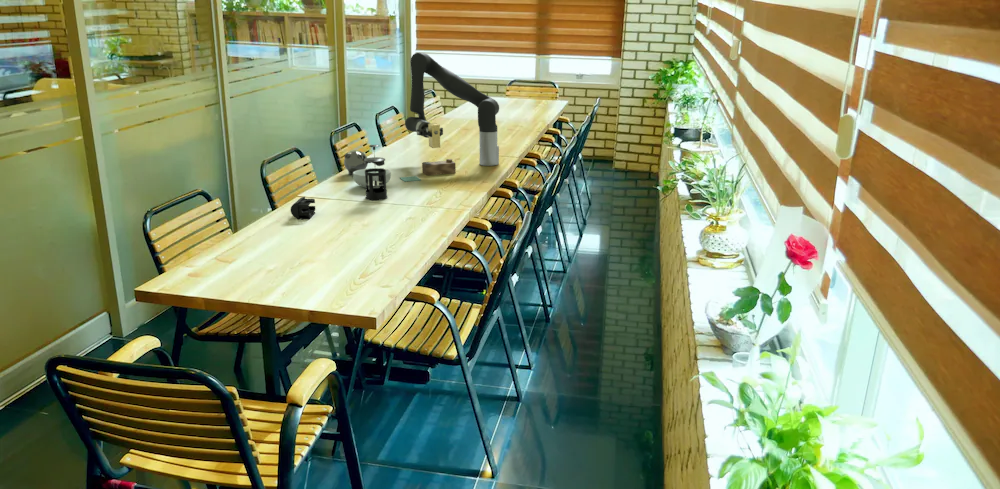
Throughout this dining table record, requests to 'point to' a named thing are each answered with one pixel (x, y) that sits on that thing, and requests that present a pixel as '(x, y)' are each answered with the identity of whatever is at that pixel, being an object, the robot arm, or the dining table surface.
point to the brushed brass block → (434, 135)
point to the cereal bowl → (361, 180)
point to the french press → (372, 192)
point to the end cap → (303, 208)
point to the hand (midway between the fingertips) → (436, 134)
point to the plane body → (438, 167)
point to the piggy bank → (355, 161)
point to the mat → (410, 178)
